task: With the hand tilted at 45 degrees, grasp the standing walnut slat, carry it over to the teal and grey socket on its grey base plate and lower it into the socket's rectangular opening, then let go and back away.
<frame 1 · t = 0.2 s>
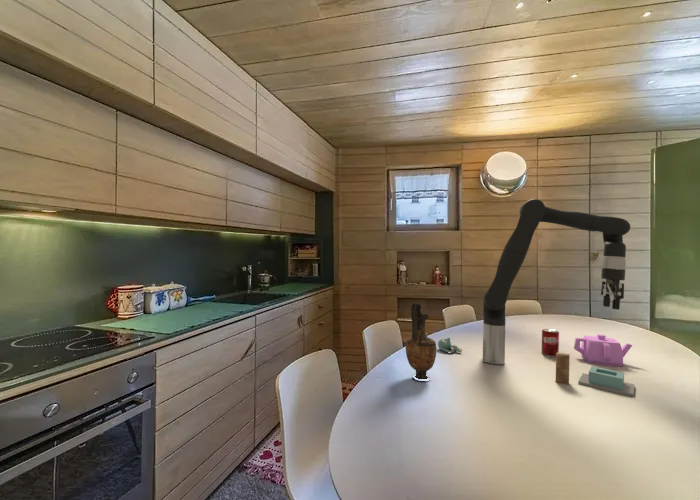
hand: (610, 307, 135), 28 cm above the table, tool pointing down, fingers open, 8 cm apart
stuffed animal: (449, 351, 166), on the table
slat: (562, 382, 128), on the table
teal and grey socket: (606, 385, 126), on the table
vase: (419, 379, 128), on the table
soda can: (549, 355, 163), on the table
teakettle: (601, 361, 155), on the table
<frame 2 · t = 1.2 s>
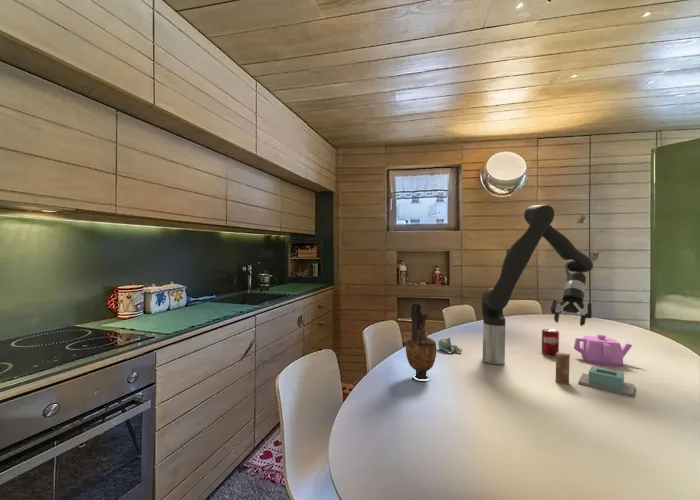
hand: (568, 323, 136), 21 cm above the table, tool tilted 45°, fingers open, 8 cm apart
nothing on the table moved.
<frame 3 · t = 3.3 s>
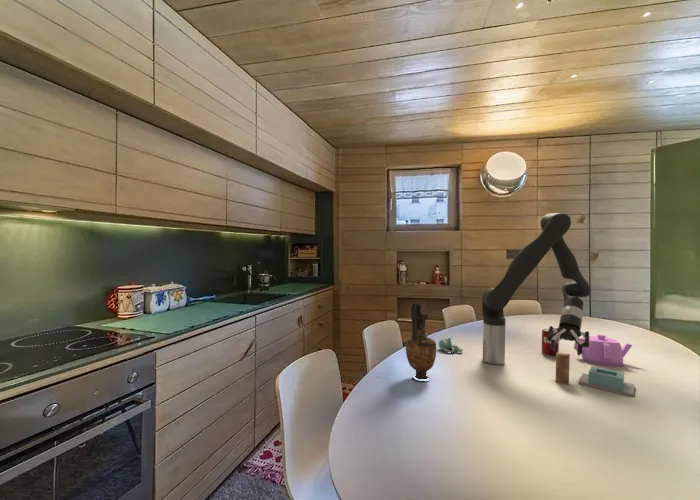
hand: (565, 351, 132), 11 cm above the table, tool tilted 45°, fingers open, 8 cm apart
nothing on the table moved.
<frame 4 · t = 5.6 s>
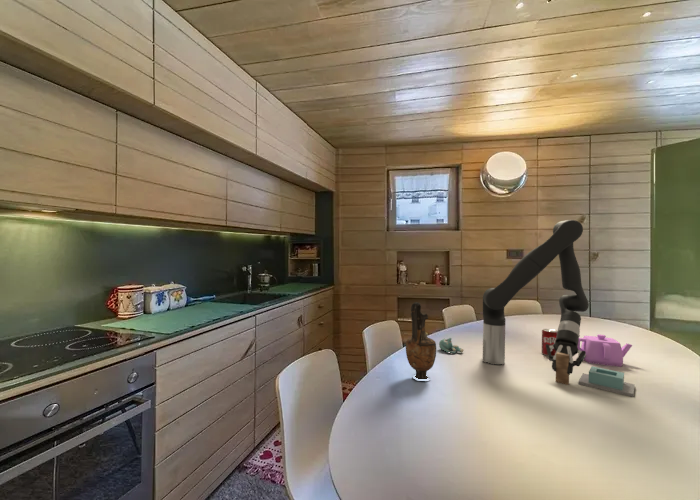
hand: (561, 371, 126), 5 cm above the table, tool tilted 45°, fingers closed on slat, 4 cm apart
slat: (562, 382, 128), on the table, touching gripper
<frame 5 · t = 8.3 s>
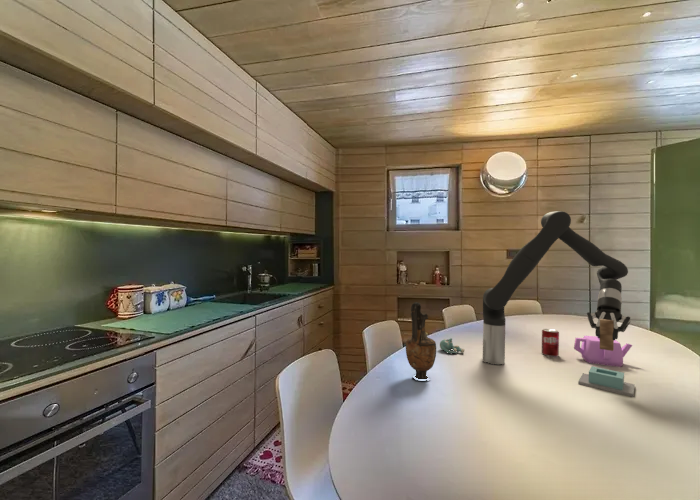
hand: (606, 337, 124), 18 cm above the table, tool tilted 45°, fingers closed on slat, 4 cm apart
slat: (606, 349, 126), point 14 cm above the table, touching gripper
when the fingers open (7 cm above the table, at t = 10.9 s): slat drops 2 cm, resting on teal and grey socket.
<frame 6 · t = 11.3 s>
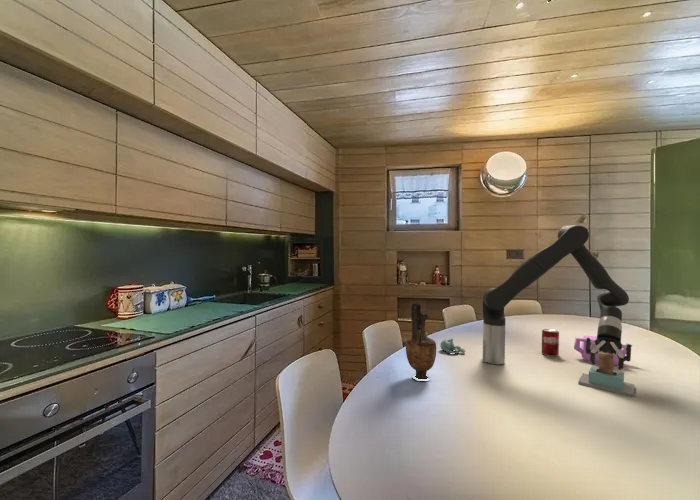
hand: (606, 366, 125), 8 cm above the table, tool tilted 45°, fingers open, 7 cm apart
slat: (605, 382, 126), point 1 cm above the table, touching teal and grey socket
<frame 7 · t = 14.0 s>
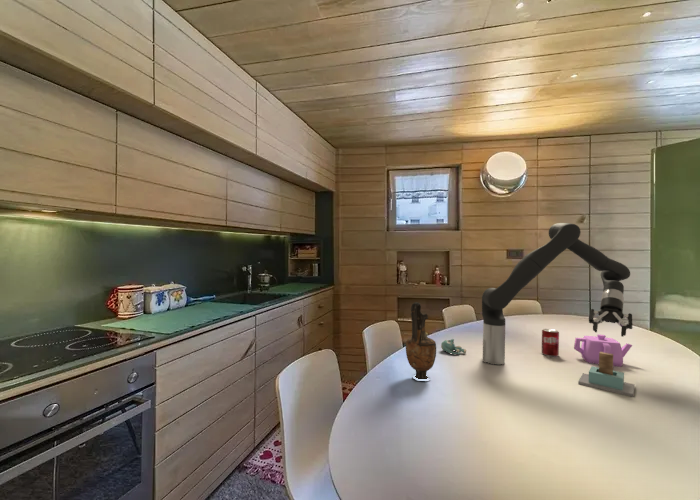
hand: (608, 333, 135), 18 cm above the table, tool tilted 45°, fingers open, 8 cm apart
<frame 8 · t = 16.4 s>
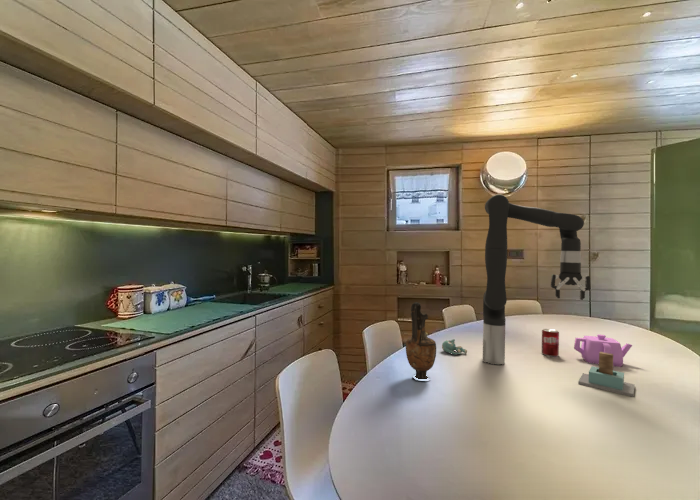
hand: (569, 298, 144), 30 cm above the table, tool pointing down, fingers open, 8 cm apart
at the end: slat 0.1 cm off-centre on the teal and grey socket, point 1.0 cm above the teal and grey socket's base; slat tilted 0°; the gripper is holding nothing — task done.
